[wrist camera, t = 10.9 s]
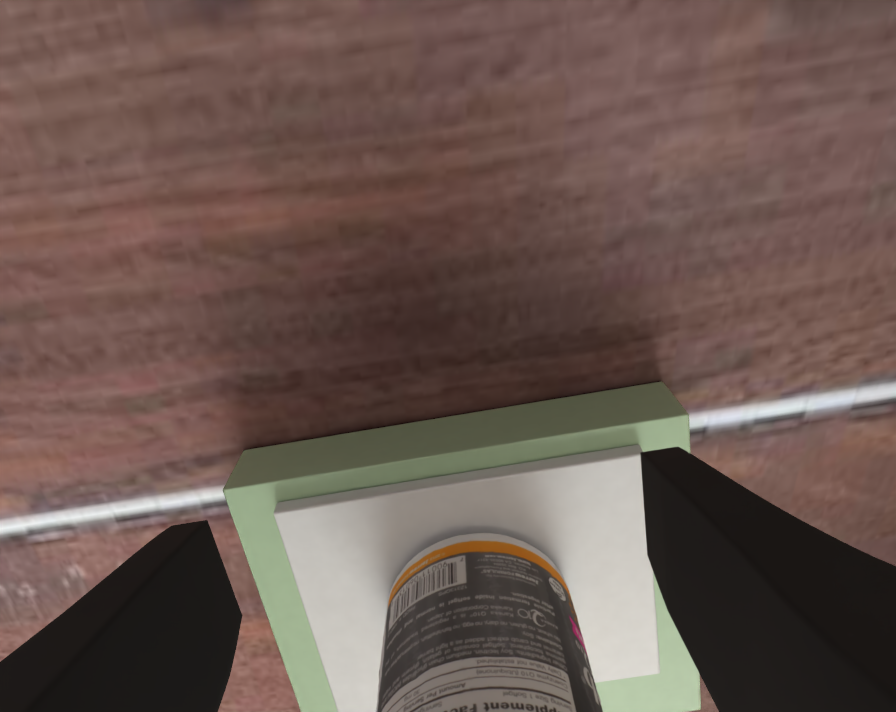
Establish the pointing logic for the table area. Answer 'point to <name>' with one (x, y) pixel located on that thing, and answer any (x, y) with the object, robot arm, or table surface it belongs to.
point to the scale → (459, 513)
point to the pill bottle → (483, 633)
